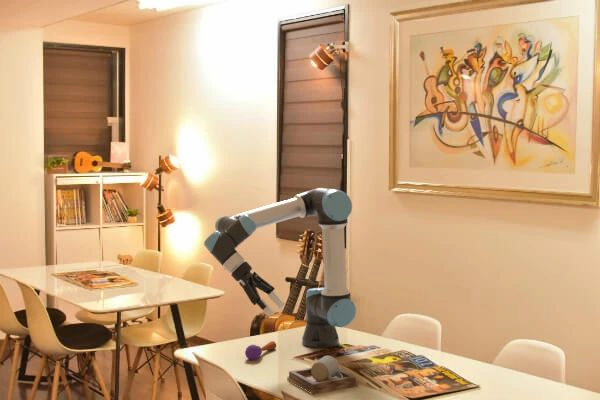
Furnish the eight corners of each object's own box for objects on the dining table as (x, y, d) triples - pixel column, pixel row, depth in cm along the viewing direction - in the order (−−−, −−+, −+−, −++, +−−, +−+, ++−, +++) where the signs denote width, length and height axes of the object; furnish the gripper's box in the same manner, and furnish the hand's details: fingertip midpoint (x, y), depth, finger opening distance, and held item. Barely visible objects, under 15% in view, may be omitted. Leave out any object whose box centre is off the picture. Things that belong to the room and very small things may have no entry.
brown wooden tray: (331, 372, 301) (331, 363, 300) (357, 386, 285) (357, 377, 285) (287, 379, 292) (287, 371, 292) (312, 394, 276) (312, 385, 276)
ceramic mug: (309, 381, 287) (309, 359, 286) (320, 374, 294) (320, 353, 293) (336, 386, 281) (337, 364, 281) (347, 379, 289) (347, 358, 288)
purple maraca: (280, 340, 332) (257, 348, 313) (277, 354, 332) (254, 363, 314) (267, 336, 334) (244, 344, 316) (264, 350, 335) (241, 359, 316)
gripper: (242, 268, 316) (279, 309, 314) (219, 280, 292) (259, 325, 290) (255, 254, 314) (293, 296, 312) (233, 266, 290) (274, 311, 288)
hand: (277, 310), depth 301 cm, fingers open, 13 cm apart
